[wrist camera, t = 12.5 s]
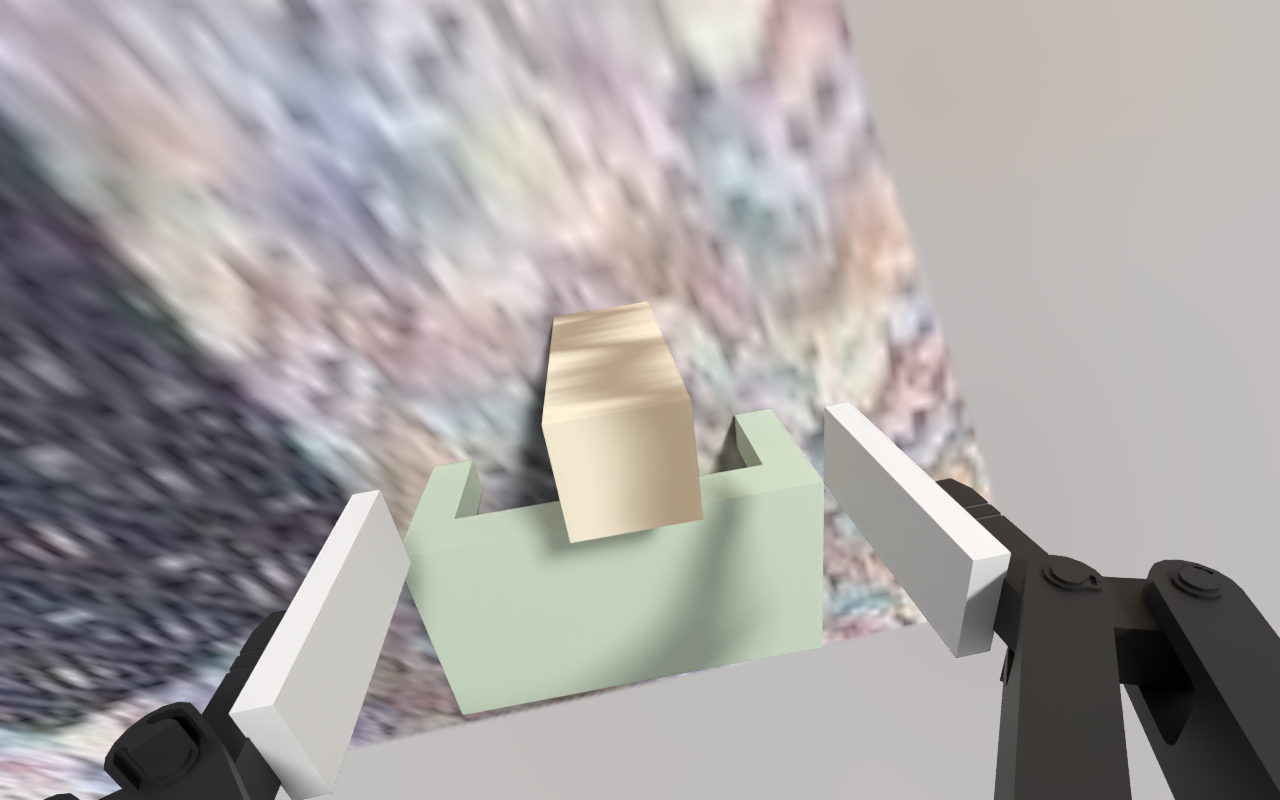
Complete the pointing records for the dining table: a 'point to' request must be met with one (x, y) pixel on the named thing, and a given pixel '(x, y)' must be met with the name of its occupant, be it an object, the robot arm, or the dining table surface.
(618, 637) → the footstool
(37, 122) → the dining table surface
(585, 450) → the pusher
